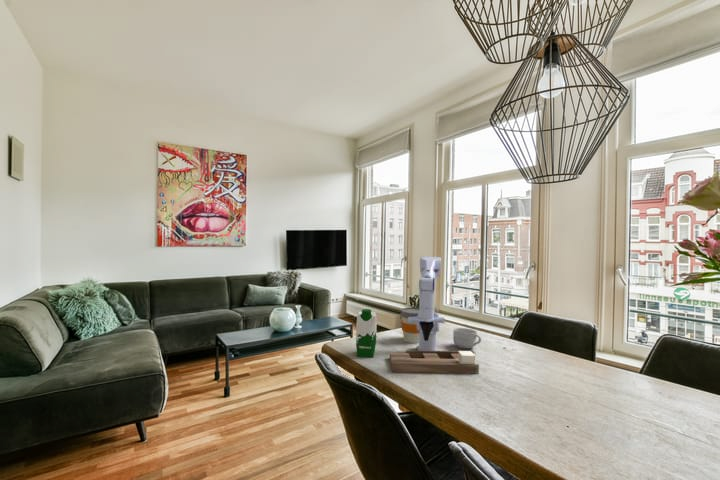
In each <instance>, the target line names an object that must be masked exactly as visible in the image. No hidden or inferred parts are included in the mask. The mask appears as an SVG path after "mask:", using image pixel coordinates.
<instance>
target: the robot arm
mask: <svg viewBox="0 0 720 480" xmlns="http://www.w3.org/2000/svg"><path fill="white" fill-rule="evenodd" d="M441 269H442V257H440V256H439V257H438V256H422V255H421V256H420V258H419V271H420V276H421V277H420V278H419V280H418V291H419V294H418V295H419V308H420V312H419V313H418V316H417V317H408V322H409V323H412V322H417V330H418V331H419V343H418V345H417V346H416V348H417V350H423V351H437V347H436V346H437V333H439V332H440V324H445V323H446V321H445V320H446V319H445V317H442V316H439V315H440V314H438V313H437V312H436V311H435V306H434V305H435V292H436V279H437V278H438V277H439V276H440V274H441Z"/></svg>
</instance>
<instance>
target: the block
mask: <svg viewBox="0 0 720 480" xmlns="http://www.w3.org/2000/svg"><path fill="white" fill-rule="evenodd" d="M457 351H458V361H459V363H460V364H475V361H476V355H475V354H474V353H473V352H472V351H471V350H457Z"/></svg>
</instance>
